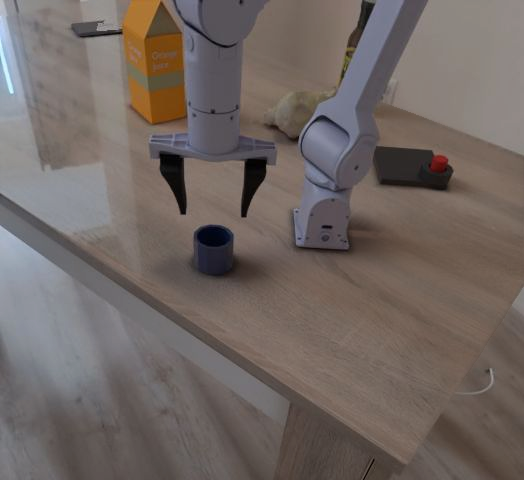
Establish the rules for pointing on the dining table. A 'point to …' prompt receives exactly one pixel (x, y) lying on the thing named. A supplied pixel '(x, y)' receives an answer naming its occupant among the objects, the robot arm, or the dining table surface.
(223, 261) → the blue plastic cup
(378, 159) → the scale
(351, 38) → the sauce bottle
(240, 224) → the dining table surface
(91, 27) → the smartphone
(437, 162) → the button
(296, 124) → the ginger root
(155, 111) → the orange juice
